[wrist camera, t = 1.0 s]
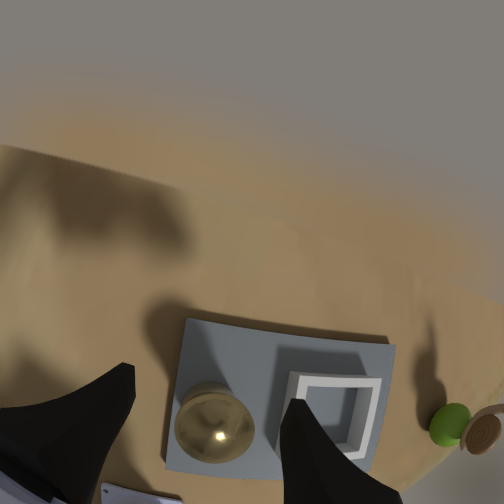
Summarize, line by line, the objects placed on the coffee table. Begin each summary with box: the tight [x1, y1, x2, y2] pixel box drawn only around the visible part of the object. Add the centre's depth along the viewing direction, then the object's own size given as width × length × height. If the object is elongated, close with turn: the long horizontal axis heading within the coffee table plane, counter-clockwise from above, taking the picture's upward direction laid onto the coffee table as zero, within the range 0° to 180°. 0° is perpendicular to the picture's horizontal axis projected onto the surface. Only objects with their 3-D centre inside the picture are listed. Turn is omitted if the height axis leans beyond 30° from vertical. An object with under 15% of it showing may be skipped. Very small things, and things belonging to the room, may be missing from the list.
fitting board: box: [165, 318, 396, 480], centre depth 21 cm, size 14×20×4 cm
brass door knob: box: [174, 381, 255, 464], centre depth 18 cm, size 5×5×6 cm
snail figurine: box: [429, 403, 504, 455], centre depth 19 cm, size 5×6×12 cm
